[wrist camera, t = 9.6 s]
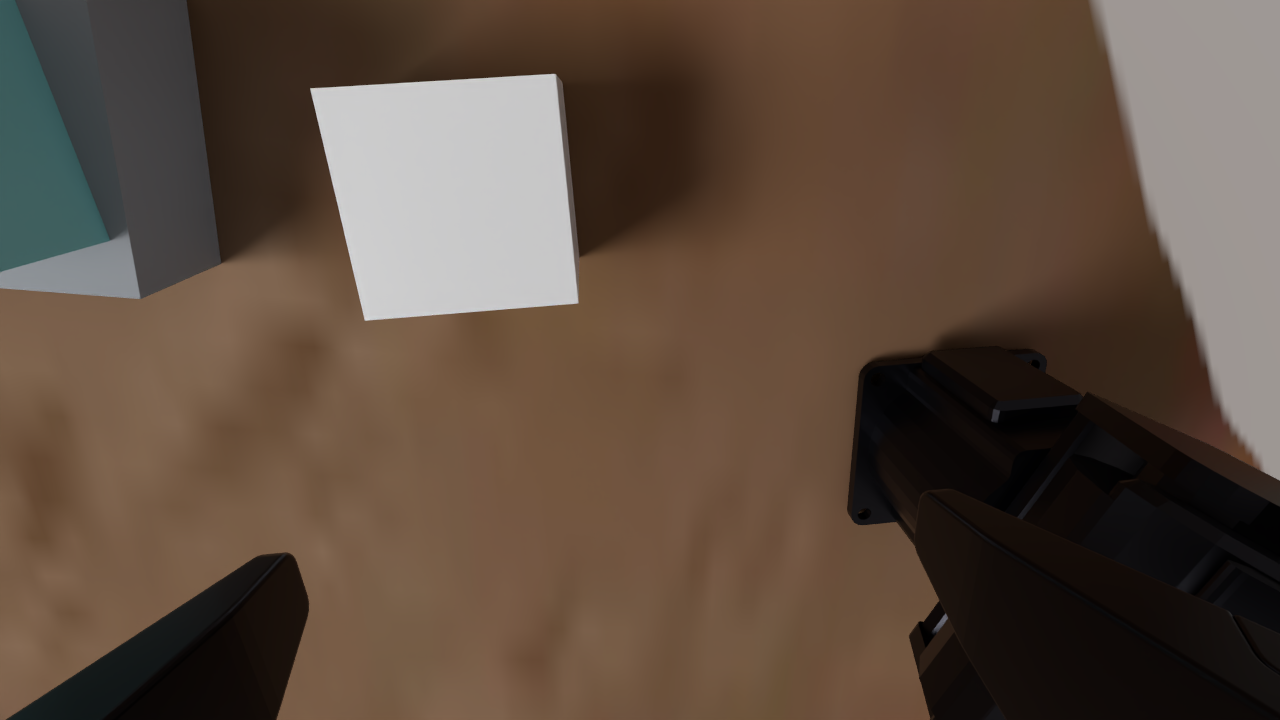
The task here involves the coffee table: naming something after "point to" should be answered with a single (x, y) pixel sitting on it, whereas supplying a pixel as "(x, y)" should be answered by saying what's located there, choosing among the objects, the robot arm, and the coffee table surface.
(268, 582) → the robot arm
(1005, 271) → the coffee table surface
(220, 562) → the coffee table surface
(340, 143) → the white block
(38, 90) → the teal block
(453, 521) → the coffee table surface
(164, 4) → the slate base block
